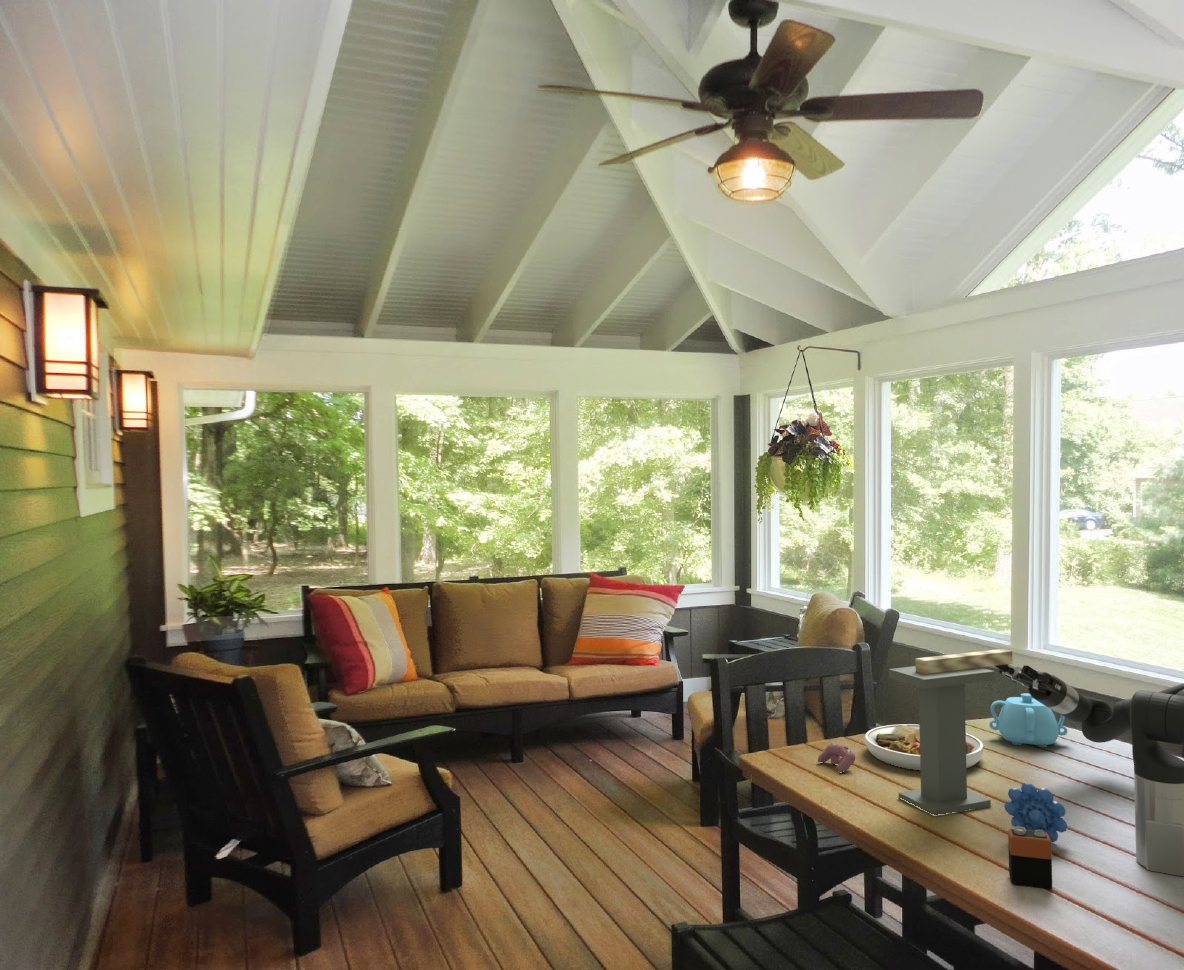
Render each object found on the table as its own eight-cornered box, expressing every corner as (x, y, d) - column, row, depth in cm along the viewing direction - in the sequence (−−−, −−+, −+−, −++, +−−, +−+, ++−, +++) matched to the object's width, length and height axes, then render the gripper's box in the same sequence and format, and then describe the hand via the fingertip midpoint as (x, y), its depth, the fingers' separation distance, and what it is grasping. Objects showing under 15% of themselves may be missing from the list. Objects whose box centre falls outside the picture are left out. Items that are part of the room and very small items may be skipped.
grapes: (1006, 845, 176) (1005, 787, 176) (1004, 833, 182) (1002, 776, 182) (1070, 853, 172) (1069, 793, 172) (1066, 840, 178) (1064, 782, 178)
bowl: (842, 751, 240) (841, 723, 240) (918, 735, 254) (917, 709, 254) (928, 784, 213) (928, 752, 213) (1008, 763, 227) (1007, 734, 227)
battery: (1008, 875, 163) (1007, 822, 163) (1048, 880, 161) (1047, 826, 161) (1011, 885, 159) (1010, 831, 159) (1052, 890, 156) (1051, 836, 156)
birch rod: (1002, 661, 208) (1002, 648, 208) (1012, 663, 205) (1012, 651, 205) (915, 671, 199) (915, 658, 199) (924, 673, 197) (924, 660, 197)
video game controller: (851, 778, 222) (860, 752, 223) (838, 772, 221) (848, 746, 222) (827, 767, 231) (836, 742, 233) (815, 761, 230) (824, 736, 231)
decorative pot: (1030, 731, 255) (1029, 685, 255) (1074, 746, 239) (1072, 697, 239) (984, 737, 250) (983, 690, 250) (1026, 752, 235) (1024, 703, 235)
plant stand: (959, 788, 209) (956, 661, 209) (997, 805, 198) (994, 671, 198) (891, 800, 202) (888, 669, 202) (927, 818, 191) (924, 679, 191)
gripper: (1073, 714, 205) (1027, 685, 200) (1025, 700, 219) (981, 673, 214) (1084, 685, 206) (1039, 656, 202) (1035, 673, 220) (992, 646, 215)
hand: (1009, 665), depth 208 cm, fingers open, 8 cm apart
